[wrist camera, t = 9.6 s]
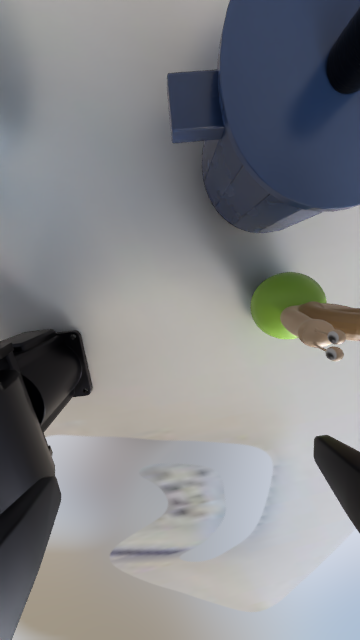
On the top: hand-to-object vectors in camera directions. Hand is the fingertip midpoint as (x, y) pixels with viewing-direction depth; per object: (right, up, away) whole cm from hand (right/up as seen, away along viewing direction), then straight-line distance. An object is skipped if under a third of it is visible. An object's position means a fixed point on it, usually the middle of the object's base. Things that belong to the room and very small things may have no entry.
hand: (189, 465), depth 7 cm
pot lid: (+7, +16, +2) cm, 18 cm away
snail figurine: (+8, +7, +12) cm, 16 cm away
